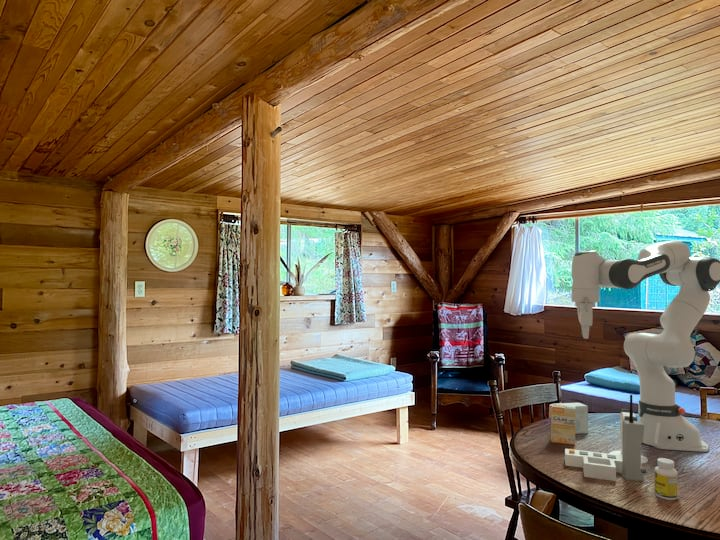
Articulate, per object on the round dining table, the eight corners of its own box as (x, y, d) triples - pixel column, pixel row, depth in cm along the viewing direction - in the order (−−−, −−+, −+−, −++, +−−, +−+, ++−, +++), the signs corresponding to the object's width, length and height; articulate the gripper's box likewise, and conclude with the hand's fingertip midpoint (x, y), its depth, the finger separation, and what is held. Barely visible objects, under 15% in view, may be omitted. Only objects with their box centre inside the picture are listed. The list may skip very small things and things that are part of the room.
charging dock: (644, 469, 159) (644, 455, 159) (651, 486, 146) (651, 471, 146) (565, 459, 167) (565, 446, 167) (565, 474, 154) (565, 460, 154)
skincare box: (579, 428, 201) (579, 401, 201) (588, 433, 195) (588, 406, 195) (554, 429, 200) (554, 402, 200) (563, 434, 193) (563, 406, 193)
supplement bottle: (650, 492, 142) (650, 457, 142) (668, 491, 142) (668, 456, 142) (663, 501, 136) (663, 464, 136) (682, 500, 137) (682, 463, 137)
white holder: (651, 466, 161) (651, 419, 161) (611, 462, 165) (611, 415, 165) (644, 454, 172) (644, 409, 172) (607, 450, 176) (607, 406, 176)
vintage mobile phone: (644, 481, 149) (644, 396, 149) (625, 480, 150) (626, 395, 150) (640, 476, 153) (640, 393, 153) (622, 475, 154) (622, 392, 154)
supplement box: (550, 442, 184) (550, 406, 184) (551, 438, 188) (551, 403, 188) (575, 445, 180) (575, 408, 181) (575, 441, 185) (575, 405, 185)
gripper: (597, 298, 166) (597, 340, 166) (593, 296, 185) (593, 334, 185) (576, 297, 168) (576, 339, 168) (574, 295, 187) (574, 333, 187)
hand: (585, 336), depth 176 cm, fingers open, 8 cm apart
